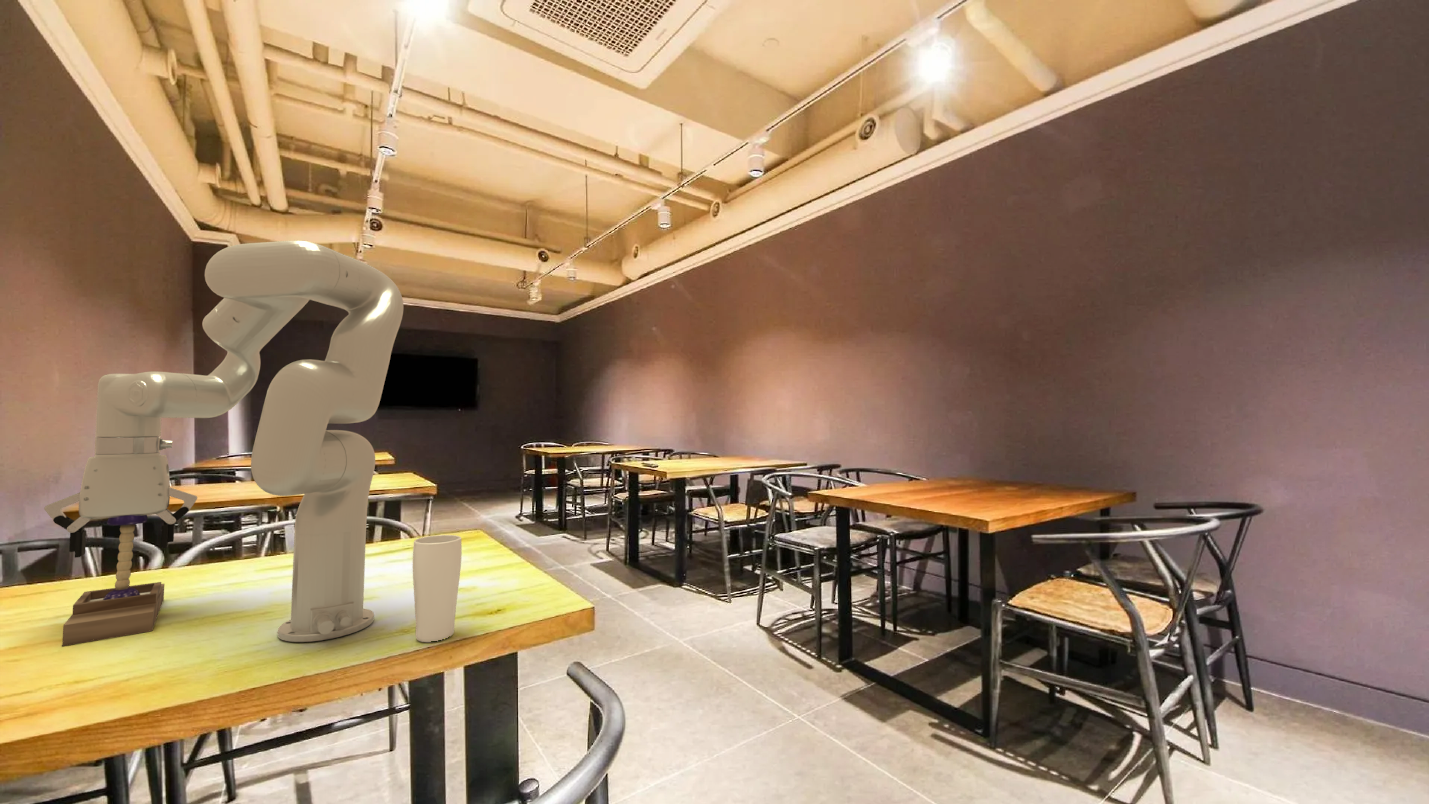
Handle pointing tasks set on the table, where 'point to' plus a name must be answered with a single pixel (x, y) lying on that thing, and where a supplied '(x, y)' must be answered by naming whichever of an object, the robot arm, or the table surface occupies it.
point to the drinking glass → (436, 585)
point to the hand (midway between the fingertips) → (123, 551)
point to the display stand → (113, 614)
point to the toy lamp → (125, 555)
